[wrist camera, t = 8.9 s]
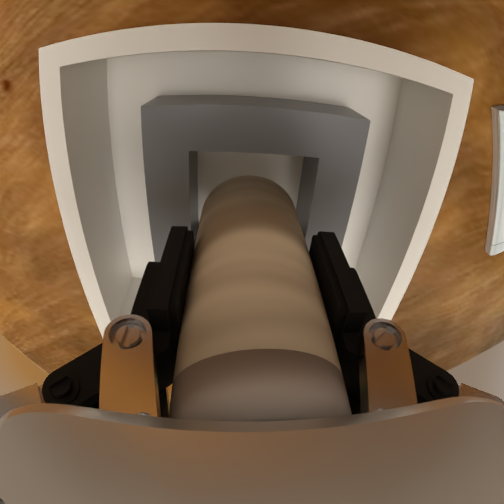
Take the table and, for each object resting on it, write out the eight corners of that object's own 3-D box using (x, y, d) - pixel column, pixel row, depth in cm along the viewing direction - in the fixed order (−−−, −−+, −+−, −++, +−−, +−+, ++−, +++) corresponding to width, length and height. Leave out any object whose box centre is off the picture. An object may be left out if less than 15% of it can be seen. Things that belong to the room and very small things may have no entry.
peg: (200, 173, 13) (147, 412, 4) (301, 178, 13) (387, 407, 5) (202, 255, 15) (178, 469, 7) (288, 258, 15) (327, 466, 7)
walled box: (95, 43, 12) (38, 48, 8) (412, 64, 13) (474, 79, 9) (124, 279, 21) (103, 338, 17) (355, 286, 23) (377, 344, 18)
